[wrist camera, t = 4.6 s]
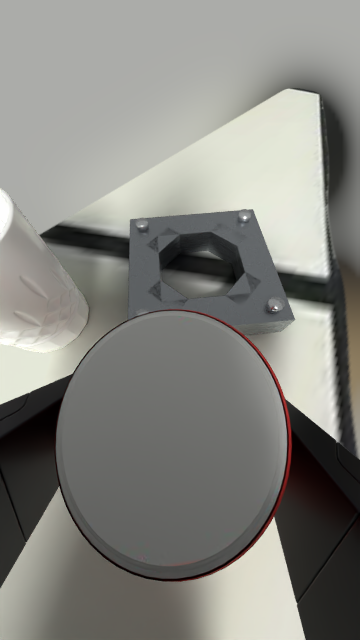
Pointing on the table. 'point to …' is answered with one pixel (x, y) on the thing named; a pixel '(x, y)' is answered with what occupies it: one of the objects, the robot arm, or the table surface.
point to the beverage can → (173, 445)
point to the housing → (227, 243)
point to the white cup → (34, 288)
